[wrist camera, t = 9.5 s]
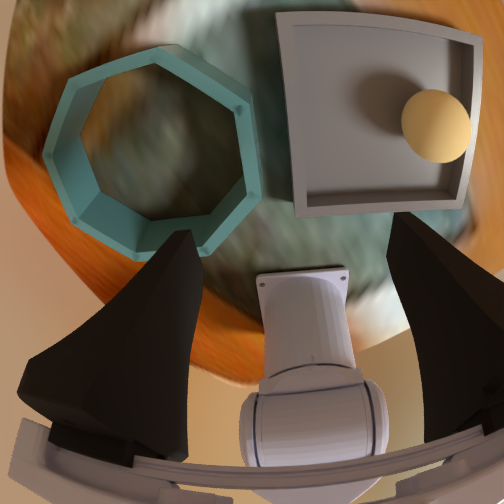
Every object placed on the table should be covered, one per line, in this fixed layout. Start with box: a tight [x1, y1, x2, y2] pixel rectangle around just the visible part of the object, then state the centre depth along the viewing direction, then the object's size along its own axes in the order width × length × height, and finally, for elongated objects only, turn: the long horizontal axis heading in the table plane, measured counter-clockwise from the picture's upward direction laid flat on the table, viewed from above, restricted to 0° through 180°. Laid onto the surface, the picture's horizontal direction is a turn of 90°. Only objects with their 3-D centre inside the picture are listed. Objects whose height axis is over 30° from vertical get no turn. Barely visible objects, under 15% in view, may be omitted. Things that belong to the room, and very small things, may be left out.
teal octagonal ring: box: [42, 44, 262, 262], centre depth 17 cm, size 13×13×4 cm
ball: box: [401, 89, 471, 163], centre depth 14 cm, size 4×4×4 cm
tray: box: [274, 11, 483, 218], centre depth 16 cm, size 13×13×2 cm
